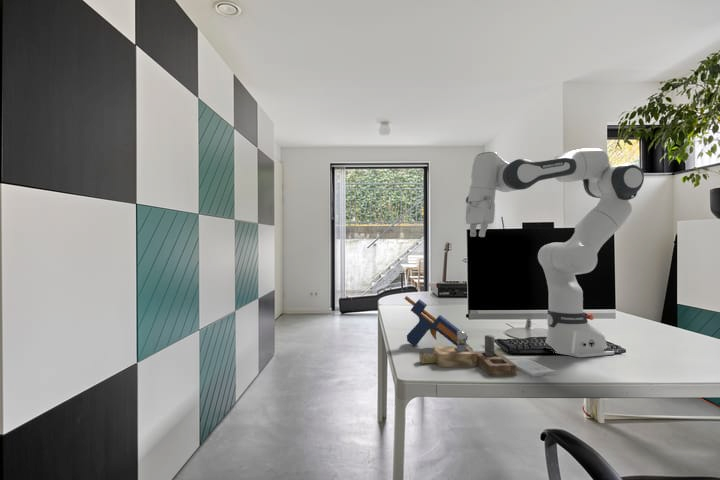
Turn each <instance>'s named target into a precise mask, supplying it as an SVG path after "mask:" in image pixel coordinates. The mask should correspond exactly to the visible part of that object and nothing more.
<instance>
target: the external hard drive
mask: <svg viewBox="0 0 720 480" xmlns="http://www.w3.org/2000/svg"><path fill="white" fill-rule="evenodd" d="M510 361H511V362H513V363H514V364H515V365H516V370H519V371H520V372H523V373H525V374H528V375H529V376H531V377H542V376H549V375H550V376H551V375H556V374H557V371H556V370H554V369H551V368H549V367H548V366H544V365H542V364H540V363H538V362H536V361H533V360H531V359H529V358H522V359H513V360H510Z"/></svg>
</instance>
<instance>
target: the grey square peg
mask: <svg viewBox="0 0 720 480" xmlns="http://www.w3.org/2000/svg"><path fill="white" fill-rule="evenodd" d="M466 335H467V332H466V331H464V330H460V331H457V352H466V343H467V340H466Z"/></svg>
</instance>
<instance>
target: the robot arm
mask: <svg viewBox="0 0 720 480" xmlns="http://www.w3.org/2000/svg"><path fill="white" fill-rule="evenodd" d="M470 178H471V183H470V187H469V192H468V196H467V197H466V198H465V204H466V208H465V209H466V210H465V224H467V225H469V231H470V233H469V236H470V237H471V238H472V237H473V238H474V237H476V236H477V227H478V225H479V226H480V229H479V231H478V237H480V238H485V237H486V232H487V230H488V227H489V224H490V225H492V224H493V223H494V221H495V211H496V210H495V209H496V203H495V200H496V199H495V198H496V191H499V192H502V193H509V192H514V191H520V190H522V191H523V190H526V189H529V188H531V187H532V186H533V185H535V184H536V183H538V182H540V181H544V180H549V179H550V180H551V179H555V180H557V182H560V183H570V182H572V183H573V182H578V181H582V185H583V189H584V191H585V193H586V194H587V195H588V196H590V197H592V198H597V199H599V201H598V202H597V205H596V206H594V207H593V208H592V209H591V210H590V211H589V212H588V213H587V214H586V215H585V216H583V218H582V219H581V220H580V221H579V222H577V224H575V226H574V233H573V234H572V236H571V237H570V239H568V240H567V241H565V242H557V241H556V242H551V243H547V244H544V245H543V246H541V247H540V249H539V250H538V253H537V260H538V263H539V265H540V266H541V267H542V269H543V272H544V275H545V279H546V285H547V291H548V309H547V319H546V321H547V332H546V339H545V342H546V343H547V344H548V345H549V346H551V347H552V348H553V349H554V350H555V351H556V352H555V353H556V354H560V355H565V356H571V357H576V358H591V357H599V356H602V357H603V356H611V355H615V350H613V351H604V349H606V348H607V347H608V346H607V341H606V340H607V339H606V337H605V334H604V333H602V332H601V331H600V330H598V329H597V328H596V327H594V325H592V324H591V323H590V322H589V321H588V320H590V321H593V320H594V319H595V317H594V314H591V313H586V312H584V307H583V306H584V303H583V302H584V295H583V294H584V291H583V289H582V287H581V286H580V284H579V283H578V280H577V277H576V275H582V274H583V275H584V274H588V273H591V272H592V271H594V269H595V268H596V267H597V264H598V253H599V251H600V250H601V248H602V247H603V245H605V243H606V242H607V241H608V240H609V239H610V238H611V237H612V236H613V235H614V234H616V232H617V231H618V230H619V229H620V228H621V227H622V226H623V225H624V224H625V222H626V221H627V219H628V218H629V216H630V215H631V213H632V211H633V210H632V204H631V203H630V200H632V199H635V198H636V196H637V194H638V192H639V191H640V190H641V188H642V187H643V184H644V179H645V174H644V172H643V170H642V168H641V167H640V166H638V165H637V164H636V165H635V164H631V163H624V164H623V163H622V164H618V165H611V164H610V158H609V155H608V153H607V152H606V151H604V150H603V149H600V148H580V149H575V150H574V149H573V150H568V151H565V152H563V153H560V154H558V155H556V156H554V157H553V159H552V158H551V159H547V160H540V161H533V160H530V159H525V158H518V159H515V160H513V161H511V162H508V161H505V160H504V159H503V158H502V157H501V156H500V155H499V154H498V152H495V151H486V152H485V151H484V152H481V153H479V154H477V155H476V156H475V157H474V160H473V163H472V167H471V176H470Z"/></svg>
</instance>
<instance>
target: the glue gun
mask: <svg viewBox="0 0 720 480" xmlns="http://www.w3.org/2000/svg"><path fill="white" fill-rule="evenodd" d="M404 300H405V301H407V302H408V303H409V304H411V306H412V308H411V309H410V311H411V313H413V314H415V316H417V317H418V320H419V321H418V323H416V325H414V327H413V328H412V329H411V330H410V331H409V333H407V335H406V340H407V343H408V344H410V345H411V346H413V347H414V346H415V347H417V346H418V344H419V343H420V342H421V340H422V339H423V337H425V335H426V334H427V332H428V331H430V332H429V333H430V334H431V335H432V337H433V338H434V340H435V341H436V340H437V332H438V333H439V334H440V335H442V336H443V337H444V338H445V339H447V340H448V341H449V342H451V343H452V344H453V345H454V346H457V331H461V330H460V328H458V327H457V326H456V325H454V324H452V323H451V321H449V320H448V319H446V318H445V317H443V316H442V315H441V314H439V315H438V316H437V317H434V316H433V315H432V314H431V313H429V312H428V311H427V310H425V309H426V307H427V306H428V305H427V303H425V302H424V301H423V300H422V299H418V300H417V301H416V302H415V301H414V300H412V299H411V298H410V297H409V296H407V295H406V296H405V297H404ZM467 340H468V335H467V334H466V341H467ZM466 346H468V347H469V348H471V349H472V350H473V348H472V347H471V346H470V344H468V343H467V342H466Z"/></svg>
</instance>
